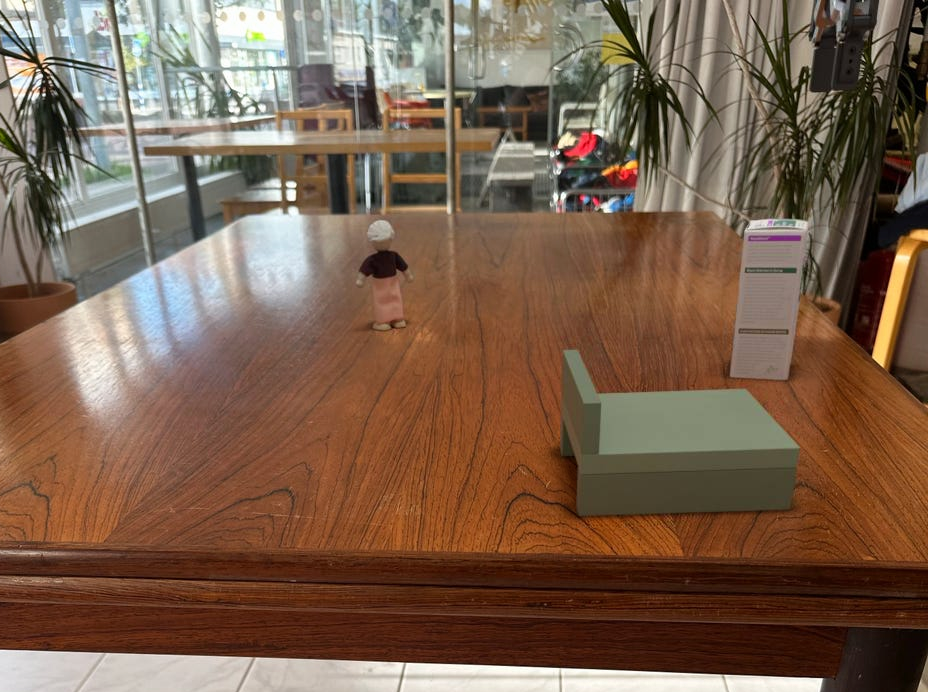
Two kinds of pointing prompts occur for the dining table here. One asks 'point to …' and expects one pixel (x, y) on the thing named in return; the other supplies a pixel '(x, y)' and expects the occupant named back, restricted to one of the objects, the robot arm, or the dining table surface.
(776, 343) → the syrup box
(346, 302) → the dining table surface
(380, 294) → the grandmother figurine
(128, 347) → the dining table surface
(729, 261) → the dining table surface
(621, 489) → the toy bed
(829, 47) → the robot arm
